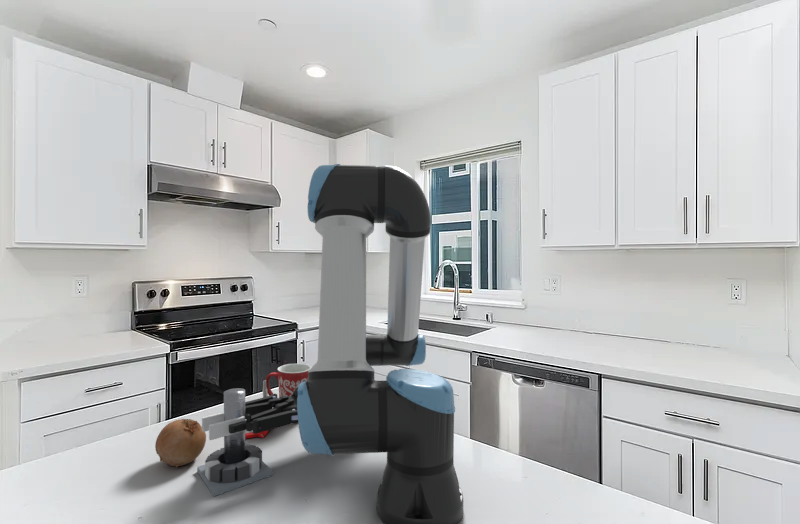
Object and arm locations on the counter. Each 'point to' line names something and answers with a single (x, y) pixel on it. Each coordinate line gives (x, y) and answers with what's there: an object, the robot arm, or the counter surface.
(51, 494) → the counter surface
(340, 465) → the counter surface
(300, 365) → the mug
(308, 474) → the counter surface
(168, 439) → the onion
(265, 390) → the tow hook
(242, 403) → the steel rod
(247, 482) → the chuck
